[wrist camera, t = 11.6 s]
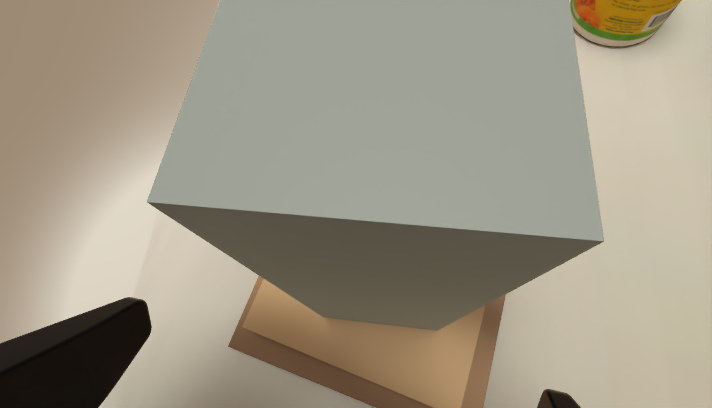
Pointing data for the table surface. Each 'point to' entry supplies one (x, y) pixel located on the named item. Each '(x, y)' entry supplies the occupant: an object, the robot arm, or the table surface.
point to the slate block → (387, 152)
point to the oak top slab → (375, 347)
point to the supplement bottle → (619, 19)
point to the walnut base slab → (386, 400)
